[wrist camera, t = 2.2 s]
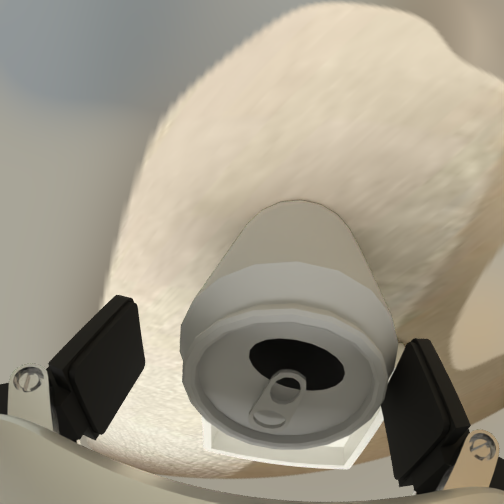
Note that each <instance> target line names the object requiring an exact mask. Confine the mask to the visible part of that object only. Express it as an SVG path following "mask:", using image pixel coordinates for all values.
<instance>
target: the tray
mask: <svg viewBox="0 0 504 504" xmlns="http://www.w3.org/2000/svg"><path fill="white" fill-rule="evenodd" d="M404 349H405V347H404V344H403V343H398V350H397V356H396V361H395V367H394V370H395V368H396V366H397V364H398V362H399V360H400V358H401V355H402V353H403V351H404ZM393 372H394V371H393ZM393 372H392V374H393ZM392 374H391V376H392ZM391 376H390V377H389V380H390V378H391ZM389 380H388V382H389ZM383 420H384V418H383V414H382V409H381V406H380V407H379V408H378V410H377V411H376V413H375V414H374V416H373V417H372V418H371V420H369V421H368V422H367V423H365V424H364V425H363V426H362V427H360V428H359V429H358V430H356V431H355V432H354V433H352V434H351V435H349V436H347V437H344V438H342V439H340V440H337V441H335V442H333V443H330V444H328V445H323V446H318V447H313V448H308V449H302V450H280V449H271V448H265V447H260V446H255V445H251V444H248V443H245V442H243V441H240V440H238V439H235V438H233V437H231V436H228V435H226V434H225V433H223V432H222V431H220V430H219V429H217V428H216V427H215V426H213V425H212V424H210V423H209V422H207V421H206V420H205V419H204V417H203V416H202V430H203V450H205V451H209V452H213V453H218V454H222V455H227V456H231V457H236V458H242V459H247V460H253V461H259V462H265V463H272V464H280V465H288V466H298V467H310V468H326V469H349V468H350V467H351V466H352V465H353V463H354V462H355V461H356V459H357V458H358V457H359V455H360V454H361V452H362V451H363V450H364V448H365V447H366V445H367V444H368V443H369V441H370V440H371V438H372V437H373V435H374V434H375V432H376V431H377V429H378V428H379V426H380V425H381V423H382V421H383Z"/></svg>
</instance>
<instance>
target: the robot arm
mask: <svg viewBox="0 0 504 504" xmlns="http://www.w3.org/2000/svg"><path fill="white" fill-rule="evenodd" d="M144 366H145V356H144V350H143V344H142V337H141V330H140V322H139V314H138V307H137V304H136V303H134V301H133V299H132V298H129V297H125V296H121V295H116V296H114V297H113V298H112V299H111V300H110V301H109V302H108V303H107V304H106V305H105V306H104V307H103V308H102V309H101V310H100V311H99V312H98V313H97V314H96V315H95V316H94V317H93V318H92V319H91V320H90V321H89V322H88V323H87V324H86V325H85V326H84V327H83V328H82V329H81V330H80V331H79V332H78V333H77V334H76V335H75V336H74V337H73V338H72V339H71V340H70V341H69V342H68V343H67V344H66V345H65V346H64V347H63V348H62V349H61V350H60V351H59V353H57V354H56V355H55V357H54V358H53V359H52V360H51V361H50V362H49V367H48V368H47V369H45V368H44V367H42V366H41V365H39V364H35V363H28V364H24V365H22V366H20V367H18V368H17V369H15V370H14V371H13V373H12V374H11V376H10V379H9V383H6V384H0V504H504V459H502V458H500V457H498V456H499V444H498V442H497V440H496V438H495V437H494V436H493V435H492V434H491V433H489V432H488V431H485V430H479V429H477V430H474V431H472V432H471V433H470V432H469V429H468V428H469V427H470V426H471V425H470V423H469V420H468V418H467V416H466V413H465V411H464V409H463V406H462V404H461V402H460V400H459V397H458V395H457V393H456V391H455V389H454V387H453V385H452V382H451V380H450V378H449V376H448V374H447V372H446V370H445V368H444V366H443V364H442V362H441V360H440V358H439V356H438V354H437V353H436V351H435V349H434V347H433V345H432V343H431V341H430V340H429V339H418V338H415V339H413V340H412V341H411V342H409V343H407V345H406V347H405V349H404V351H403V353H402V355H401V358H400V360H399V362H398V364H397V366H396V368H395V370H394V372H393V374H392V376H391V378H390V380H389V382H388V385H387V389H386V394H385V399H384V401H383V403H382V404H381V409H382V414H383V418H384V423H385V428H386V433H387V438H388V444H389V449H390V455H391V460H392V466H393V473H394V477H395V479H396V480H398V481H399V487H402V486H409V485H413V486H414V491H413V493H412V495H411V496H405V497H398V498H389V499H380V500H370V501H353V502H302V501H286V500H285V501H284V500H275V499H265V498H257V497H249V496H243V495H236V494H231V493H225V492H220V491H215V490H210V489H206V488H201V487H197V486H193V485H189V484H185V483H181V482H177V481H174V480H171V479H167V478H163V477H161V476H158V475H154V474H151V473H148V472H145V471H143V470H140V469H137V468H134V467H131V466H129V465H126V464H124V463H121V462H119V461H116V460H114V459H111V458H109V457H106V456H104V455H102V454H99V453H97V452H95V451H93V450H90V449H88V448H86V447H84V446H82V445H81V443H80V438H81V437H82V435H85V436H87V437H89V438H91V439H94V440H96V439H97V437H98V436H99V434H101V435H102V434H104V433H105V431H106V429H107V428H108V426H109V424H110V423H111V421H112V419H113V418H114V416H115V414H116V413H117V411H118V410H119V408H120V406H121V405H122V403H123V401H124V400H125V398H126V396H127V395H128V393H129V392H130V390H131V388H132V387H133V385H134V383H135V382H136V380H137V379H138V377H139V375H140V374H141V372H142V371H143V369H144Z"/></svg>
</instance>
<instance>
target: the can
mask: <svg viewBox="0 0 504 504" xmlns="http://www.w3.org/2000/svg"><path fill="white" fill-rule="evenodd" d="M397 350H398V340H397V336H396V332H395V328H394V324H393V320H392V316H391V314H390V311H389V309H388V307H387V305H386V302H385V300H384V298H383V296H382V293H381V291H380V289H379V287H378V285H377V283H376V280H375V278H374V276H373V274H372V272H371V270H370V268H369V266H368V264H367V262H366V260H365V258H364V256H363V254H362V252H361V250H360V248H359V246H358V244H357V242H356V240H355V238H354V236H353V234H352V232H351V230H350V229H349V228H348V227H347V225H346V224H345V223H344V222H343V220H342V219H341V218H340V217H339V216H338V215H337V214H335V213H334V212H332V211H331V210H329V209H327V208H326V207H324V206H322V205H320V204H316V203H312V202H307V201H303V200H296V201H285V202H279V203H277V204H275V205H272V206H270V207H268V208H265V209H263V210H262V211H261V212H259V213H258V214H257V215H256V216H255V217H254V218H253V219H252V220H251V221H250V222H248V224H247V225H246V226H245V228H244V229H243V231H242V232H241V233H240V235H239V236H238V238H237V239H236V240H235V242H234V243H233V245H232V246H231V247H230V249H229V250H228V252H227V253H226V254H225V256H224V257H223V259H222V260H221V262H220V263H219V264H218V266H217V267H216V269H215V270H214V271H213V273H212V274H211V276H210V277H209V279H208V280H207V281H206V283H205V284H204V286H203V287H202V289H201V290H200V291H199V293H198V294H197V296H196V297H195V299H194V300H193V302H192V304H191V306H190V308H189V310H188V312H187V314H186V316H185V318H184V320H183V322H182V324H181V334H180V353H181V356H182V359H183V376H182V382H183V385H184V387H185V390H186V392H187V395H188V397H189V400H190V402H191V403H192V404H193V406H194V407H195V408H196V409H197V410H198V412H199V413H200V414H201V415H202V416H203V417H204V419H205V420H206V421H207V422H209V423H210V424H212V425H213V426H215V427H216V428H217V429H219V430H220V431H222V432H223V433H225V434H226V435H228V436H231V437H233V438H235V439H238V440H240V441H243V442H245V443H248V444H251V445H255V446H260V447H265V448H271V449H280V450H302V449H308V448H313V447H318V446H323V445H328V444H330V443H333V442H335V441H337V440H340V439H342V438H344V437H347V436H349V435H351V434H352V433H354V432H355V431H356V430H358V429H359V428H360V427H362V426H363V425H364V424H365V423H367V422H368V421H369V420H371V418H372V417H373V416H374V414H375V413H376V411H377V410H378V408H379V407H380V406H381V404H382V403H383V401H384V399H385V394H386V389H387V385H388V380H389V377H390V376H391V374H392V372H393V371H394V367H395V361H396V356H397Z"/></svg>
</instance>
